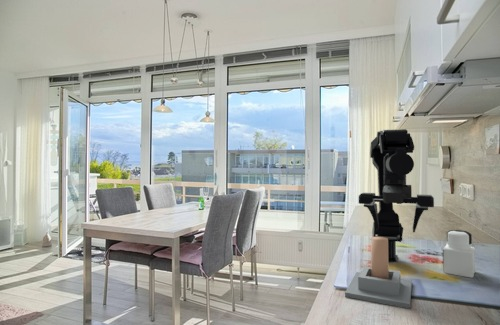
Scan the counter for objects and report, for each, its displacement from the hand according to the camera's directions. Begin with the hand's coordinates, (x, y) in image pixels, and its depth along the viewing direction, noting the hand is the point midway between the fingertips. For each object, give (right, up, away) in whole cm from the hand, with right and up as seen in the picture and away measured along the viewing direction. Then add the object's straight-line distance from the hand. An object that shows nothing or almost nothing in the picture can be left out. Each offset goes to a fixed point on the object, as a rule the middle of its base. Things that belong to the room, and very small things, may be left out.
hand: (395, 230), depth 89 cm
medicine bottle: (+20, -13, +4) cm, 25 cm away
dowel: (-8, -12, -8) cm, 17 cm away
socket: (-8, -13, -8) cm, 17 cm away
